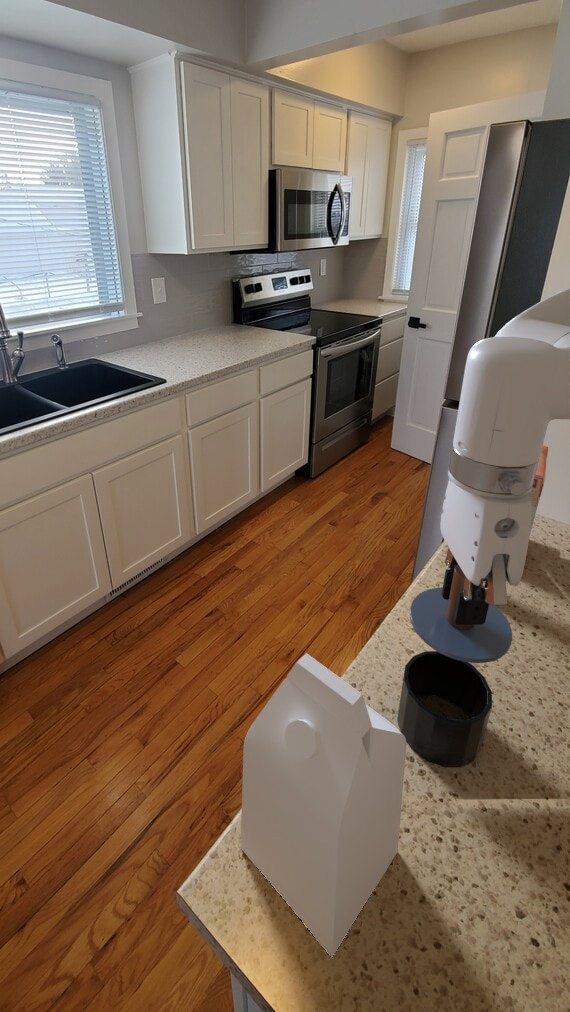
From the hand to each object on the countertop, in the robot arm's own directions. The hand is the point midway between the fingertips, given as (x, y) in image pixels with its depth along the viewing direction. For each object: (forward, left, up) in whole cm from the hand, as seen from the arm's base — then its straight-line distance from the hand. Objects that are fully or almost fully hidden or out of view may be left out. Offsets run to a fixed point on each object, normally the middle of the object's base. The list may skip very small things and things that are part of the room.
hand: (462, 608), depth 55 cm
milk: (+17, +13, -21) cm, 30 cm away
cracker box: (-25, -35, -21) cm, 48 cm away
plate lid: (0, 0, -2) cm, 2 cm away
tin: (0, 0, -20) cm, 20 cm away
